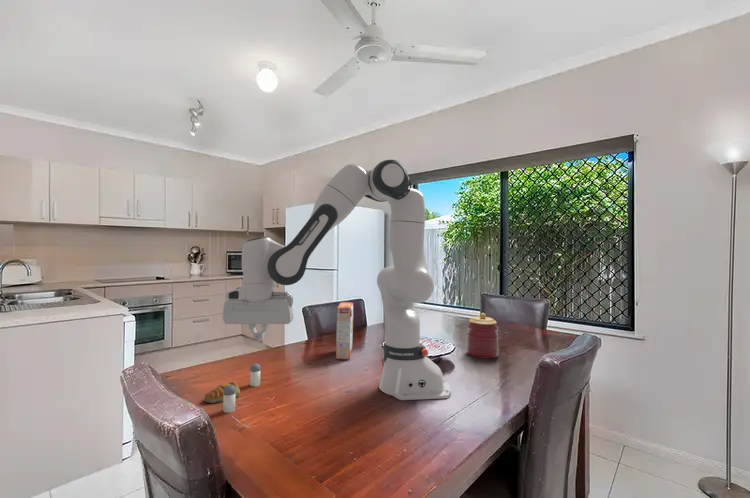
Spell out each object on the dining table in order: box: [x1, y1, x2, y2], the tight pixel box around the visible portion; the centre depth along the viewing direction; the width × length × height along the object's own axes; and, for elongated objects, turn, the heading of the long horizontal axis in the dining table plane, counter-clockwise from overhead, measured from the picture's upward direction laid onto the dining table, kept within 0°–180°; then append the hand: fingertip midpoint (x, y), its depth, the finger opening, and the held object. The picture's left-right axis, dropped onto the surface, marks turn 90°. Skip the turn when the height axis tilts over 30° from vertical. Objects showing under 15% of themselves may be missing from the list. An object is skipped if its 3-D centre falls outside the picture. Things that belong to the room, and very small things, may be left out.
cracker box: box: [335, 301, 354, 361], centre depth 148 cm, size 14×6×21 cm, turn 179°
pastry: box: [204, 381, 241, 404], centre depth 105 cm, size 9×7×4 cm
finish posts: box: [222, 363, 262, 414], centre depth 106 cm, size 3×21×7 cm, turn 177°
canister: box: [466, 312, 500, 359], centre depth 152 cm, size 13×13×18 cm
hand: (258, 338), depth 106 cm, fingers closed
